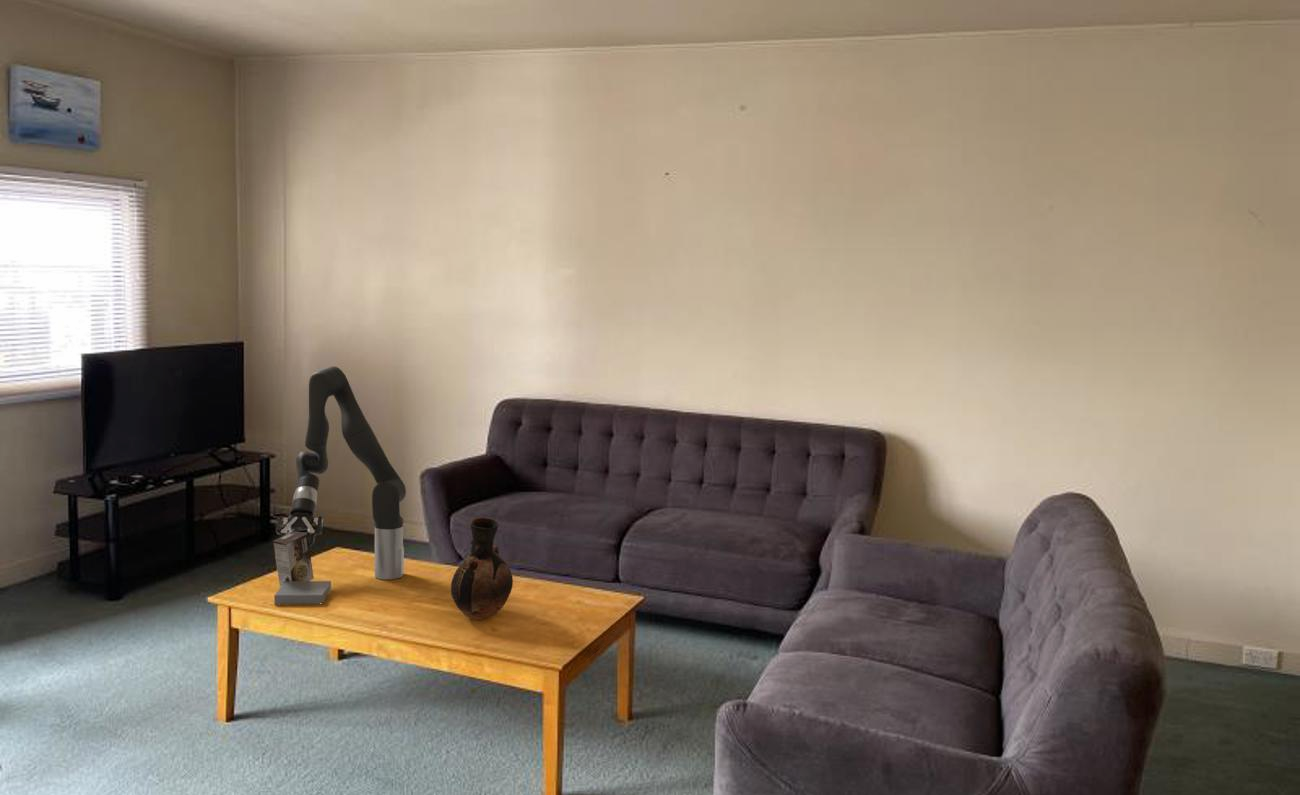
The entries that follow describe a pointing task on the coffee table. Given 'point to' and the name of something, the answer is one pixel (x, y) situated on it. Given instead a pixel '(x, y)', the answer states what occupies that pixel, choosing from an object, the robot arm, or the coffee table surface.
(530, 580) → the coffee table surface
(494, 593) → the ceramic vessel
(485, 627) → the coffee table surface
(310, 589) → the plinth
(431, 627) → the coffee table surface
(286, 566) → the coffee box
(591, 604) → the coffee table surface
